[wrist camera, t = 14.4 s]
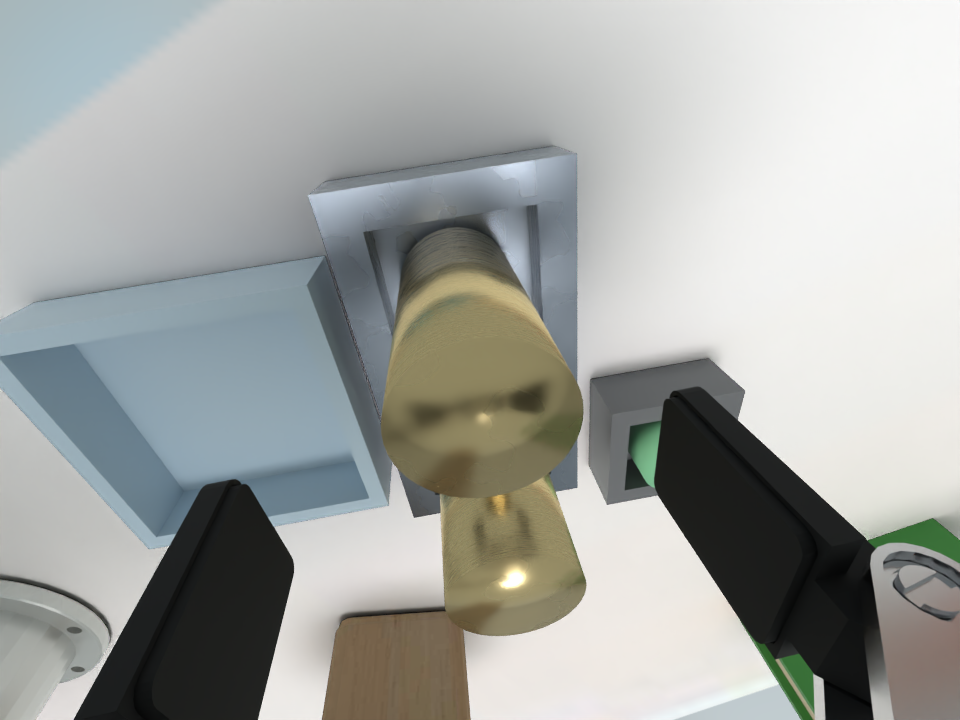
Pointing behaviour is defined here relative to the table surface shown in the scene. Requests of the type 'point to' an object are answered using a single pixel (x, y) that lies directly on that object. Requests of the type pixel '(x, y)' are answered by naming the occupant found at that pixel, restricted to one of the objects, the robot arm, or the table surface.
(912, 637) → the robot arm
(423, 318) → the billet
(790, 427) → the table surface
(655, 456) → the button
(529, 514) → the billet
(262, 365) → the tray
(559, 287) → the metal compartment tray
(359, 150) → the table surface
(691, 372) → the grey button housing
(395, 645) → the wooden block
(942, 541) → the hardback book
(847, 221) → the table surface
